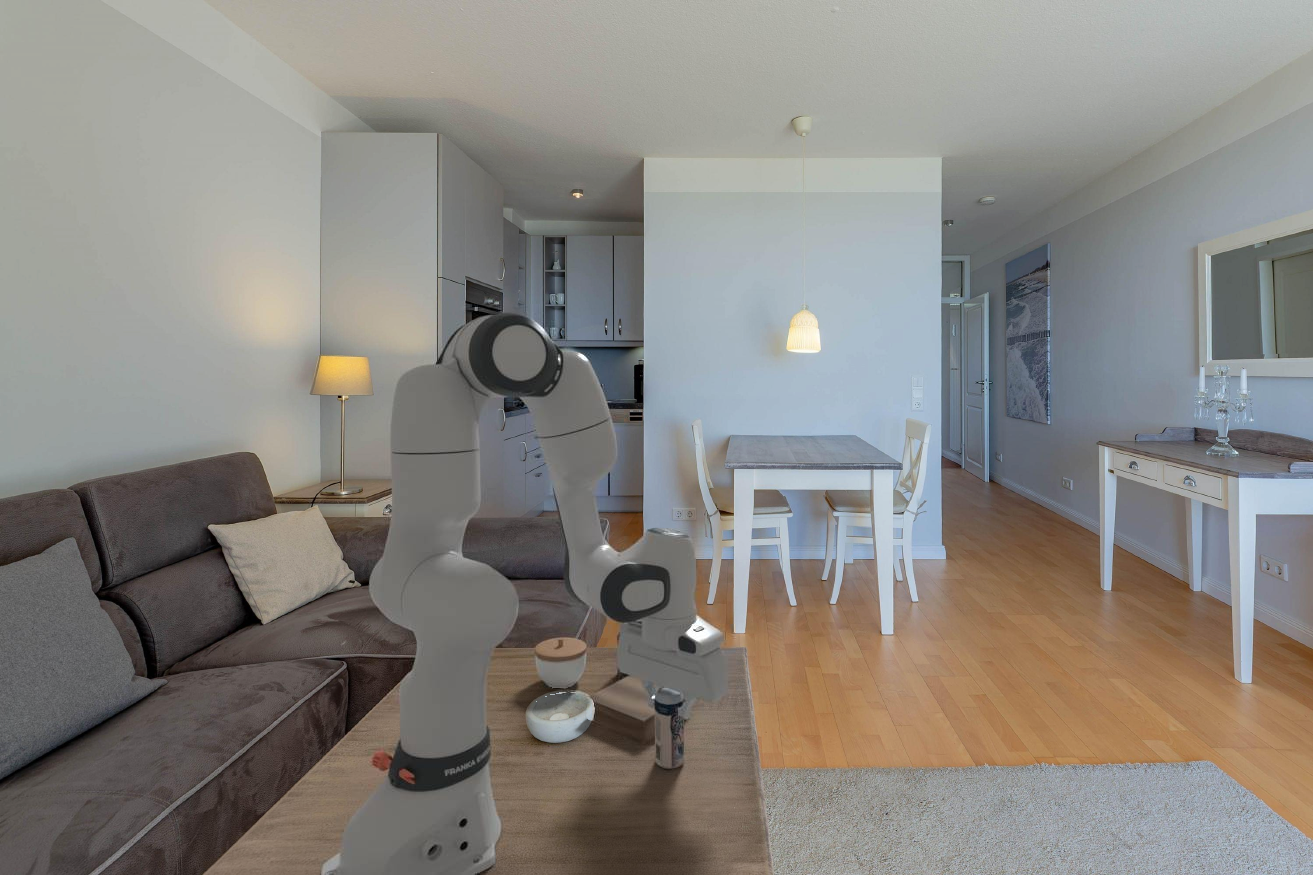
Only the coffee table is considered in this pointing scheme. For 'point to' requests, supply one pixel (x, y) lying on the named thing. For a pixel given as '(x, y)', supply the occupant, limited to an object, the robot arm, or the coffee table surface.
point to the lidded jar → (560, 661)
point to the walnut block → (626, 709)
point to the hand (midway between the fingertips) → (669, 711)
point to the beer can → (668, 729)
